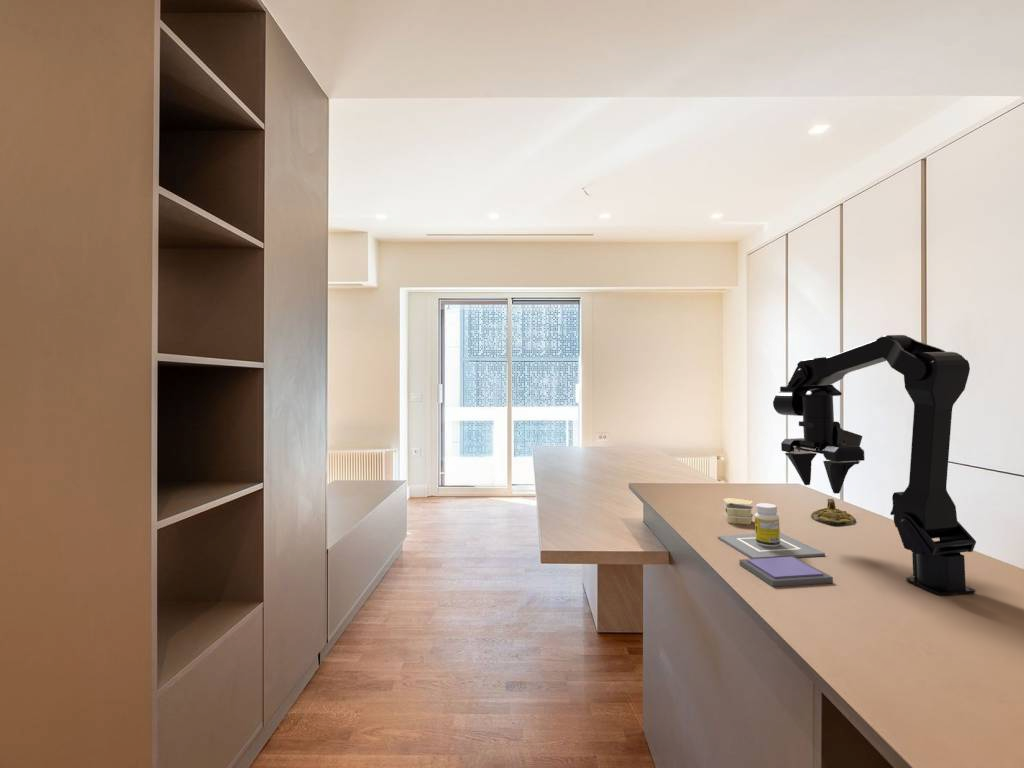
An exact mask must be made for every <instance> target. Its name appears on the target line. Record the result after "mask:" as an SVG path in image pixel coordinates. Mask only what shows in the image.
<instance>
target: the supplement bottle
mask: <svg viewBox="0 0 1024 768" xmlns="http://www.w3.org/2000/svg"><path fill="white" fill-rule="evenodd" d="M777 509H778V507H777V504H773V503H766V502H762V503H756V505H755V510H756V513H755V514H754V525H755V526H754V528H755V534H756V543H757V544H758V545H761V546H765V547H778V546H779V545H780V533H781V531H780V516H779V514H777V513H778V510H777Z"/></svg>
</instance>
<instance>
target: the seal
mask: <svg viewBox="0 0 1024 768" xmlns="http://www.w3.org/2000/svg"><path fill="white" fill-rule="evenodd" d="M810 518H811V519H812V520H813V521H815V522H818V523H821V524H825V525H828V526H849V525H853V524H855V522H856V521H855V517H854V515H852V514H850V513H848V512H847V511H846V510H841V509H839V508H836V503H835V499H834V498H827V505H826V507H825V508H821V509H816V510H815V511H812V513H811V515H810Z"/></svg>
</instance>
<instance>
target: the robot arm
mask: <svg viewBox="0 0 1024 768" xmlns="http://www.w3.org/2000/svg"><path fill="white" fill-rule="evenodd" d="M883 362H887V363H888V365H889V367H890V368H891V369H893V370H894V371H896V372H898V373H900V374H901V375H903V380H904V381H903V383H904V389H905V391H906V392H907V394H908V395H909V397H910V400H911V401H912V402H913V420H912V421H913V422H912V432H911V433H912V437H911V449H910V464H909V475H908V476H909V478H908V486H907V487H906V488H905V489H904V491H896V492H893V494H892V497H891V498H892V499H891V501H892V509H891V511H890V514H889V515H891V516H893V524H894V526H895V528H897V531H898V534H899V537H900V539H901V542H902V545H903V548H904V549H905V550H908V551H911V552H912V553H911V555H912V557H911V558H912V575H913V576H911V577H910V576H909V577H906V579H905V581H906V582H909V583H910V584H912V585H916V586H917V587H920V588H923V589H924V590H927V591H929V592H931V593H933V594H935V595H939V596H948V595H949V596H950V595H963V594H974V593H976V589H975V588H972V587H970V586H967V583H966V563H965V555H964V554H961V553H971V552H973V551H974V549H975V546H976V543H977V541H976V540H975V538H974V537H973V536H972V535H971V534H970V533H969V532H968V530H967V529H966V528H965V527H964V526H963V525H962V524H961V523H960V522H959V520H958V516H957V515H958V514H957V507H956V504H955V503H954V500H953V499H952V497H951V496H950V493H948V489H947V483H948V469H949V467H948V466H949V457H950V442H951V431H952V430H951V429H952V418H953V416H952V415H953V408H954V405H955V403H956V402H957V400H958V399H959V398H960V397H961V395H962V393H963V392H964V391H965V389H966V386H967V382H968V379H969V375H970V371H971V370H970V369H971V367H970V362H969V360H968V359H966V358H965V357H964V356H963V355H962V354H960V353H958V352H954V351H945V350H944V349H941V348H940V347H936V346H933V345H930V344H927V343H924V342H920V341H918V340H916V339H914V338H911V337H910V336H907V335H905V334H888V335H887V334H886V335H882V336H880V337H878V338H877V339H875V340H871V341H870V342H867V343H864V344H861V345H858V346H856V347H853V348H850V349H848V350H845V351H842V352H839V353H836V354H834V355H831V356H824V357H823V356H821V357H813V358H806V359H802V360H800V361H799V362H797V364H796V366H797V367H795V370H794V371H793V374H792V376H791V378H790V380H789V381H788V383H787V386H785V385H783V386H780V387H779V392H778V393H776V394H775V397H774V399H773V401H772V406H773V409H774V410H775V412H777V414H779V415H782V416H795V417H797V416H798V417H802V421H801V420H799V421H798V427H803V437H797V438H784V439H783V441H781V444H780V447H781V452H785V453H784V454H785V456H787V458H788V459H789V461H790V462H791V463H792V465H793V467H794V468H795V470H796V472H797V474H798V476H799V478H800V479H801V481H802V483H803V484H804V486H810V485H811V480H812V479H811V478H812V461H813V460H814V458H815V457H816V456H817V455H818V454H821V455H823V457H824V459H825V460H823V461H822V462H823V465H824V469H825V472H826V475H827V479H828V481H829V484H830V488H831V490H832V494H837V495H838V494H840V493H841V490H842V488H843V484H844V483H845V479H846V476H847V475H848V473H849V470H850V469H851V468H852V467H854V466H855V465H859V464H860V462H861V461H865V450H864V449H863V448H862V447H861V443H862V439H863V435H861V434H858V433H854V432H852V431H849V430H845V429H843V428H841V423H840V422H839V421H836V420H835V418H834V417H835V415H834V414H835V411H834V397H838V396H842V391H840V390H839V389H837V388H836V387H835V386H834V384H835V383H837V382H839V381H840V380H843V378H844V377H845V375H848V374H849V373H851V372H855V371H858V370H861V369H865V368H868V367H871V366H874V365H878V364H881V363H883ZM934 539H939V540H934Z"/></svg>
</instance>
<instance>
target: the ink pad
mask: <svg viewBox="0 0 1024 768" xmlns="http://www.w3.org/2000/svg"><path fill="white" fill-rule="evenodd" d="M738 561H739V563H738V564H739V566H741V567H742V568H744V569H745V570H747V571H748V572H750V573H751V574H753V575H754V576H756V577H757V578H759V579H760V580H762V581H763V582H765V583H766V584H768V585H770V586H771V587H773V588H774V587H775V588H776V587H788V586H790V587H791V586H805V585H818V584H819V585H820V584H833V583H834V578H833V576H831V575H830V574H827V573H826V572H824V571H822V570H820V569H818V568H816V567H814V566H812V565H810V564H808V563H806V562H805V561H803V560H802V559H799V558H798V557H796V558H795V557H793V556H791V557H775V558H758V559H751V558H745V559H739V560H738Z"/></svg>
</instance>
